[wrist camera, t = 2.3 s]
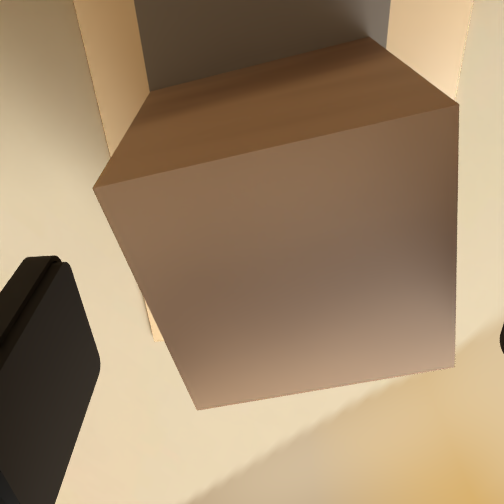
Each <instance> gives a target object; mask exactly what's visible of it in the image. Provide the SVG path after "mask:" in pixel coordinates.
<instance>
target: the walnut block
mask: <svg viewBox="0 0 504 504" xmlns="http://www.w3.org/2000/svg"><path fill="white" fill-rule="evenodd" d="M458 139H459V104H458V103H457V102H455V101H454V100H453V99H451V98H450V97H449V96H447V95H446V94H445V93H443V92H442V91H441V90H439V89H438V88H437V87H435V86H434V85H433V84H431V83H430V82H429V81H428V80H426V79H425V78H424V77H422V76H421V75H420V74H418V73H417V72H416V71H414V70H413V69H412V68H410V67H409V66H408V65H406V64H405V63H404V62H402V61H401V60H400V59H398V58H397V57H396V56H394V55H393V54H392V53H390V52H389V51H388V50H386V49H385V48H384V47H383V46H381V45H380V44H379V43H377V42H376V41H375V40H373V39H372V38H371V37H366V38H362V39H358V40H354V41H350V42H346V43H342V44H338V45H334V46H330V47H326V48H322V49H318V50H314V51H310V52H306V53H302V54H298V55H294V56H290V57H286V58H282V59H278V60H274V61H270V62H266V63H262V64H258V65H254V66H250V67H246V68H242V69H238V70H234V71H230V72H226V73H222V74H218V75H214V76H210V77H206V78H202V79H198V80H194V81H190V82H186V83H182V84H178V85H174V86H170V87H166V88H162V89H158V90H154V91H150V93H149V95H148V96H147V98H146V100H145V101H144V103H143V105H142V106H141V108H140V110H139V112H138V113H137V115H136V117H135V118H134V120H133V122H132V123H131V125H130V127H129V128H128V130H127V132H126V133H125V135H124V137H123V138H122V140H121V142H120V143H119V145H118V147H117V148H116V150H115V152H114V153H113V155H112V157H111V158H110V160H109V162H108V163H107V165H106V167H105V168H104V170H103V172H102V173H101V175H100V177H99V178H98V180H97V182H96V183H95V185H94V187H93V191H94V193H95V195H96V197H97V199H98V201H99V203H100V205H101V207H102V210H103V212H104V214H105V216H106V218H107V220H108V222H109V224H110V227H111V229H112V231H113V233H114V235H115V237H116V239H117V241H118V244H119V246H120V248H121V250H122V252H123V254H124V256H125V258H126V261H127V263H128V265H129V267H130V269H131V271H132V273H133V275H134V278H135V280H136V282H137V284H138V286H139V288H140V290H141V292H142V295H143V297H144V299H145V301H146V303H147V305H148V307H149V309H150V311H151V314H152V316H153V318H154V320H155V322H156V324H157V326H158V328H159V331H160V333H161V335H162V337H163V339H164V341H165V343H166V345H167V348H168V350H169V352H170V354H171V356H172V358H173V360H174V362H175V365H176V367H177V369H178V371H179V373H180V375H181V377H182V379H183V382H184V384H185V386H186V388H187V390H188V392H189V394H190V396H191V399H192V401H193V403H194V405H195V407H196V409H197V410H203V409H209V408H215V407H221V406H227V405H233V404H239V403H244V402H250V401H256V400H262V399H268V398H274V397H280V396H286V395H292V394H298V393H304V392H310V391H316V390H322V389H328V388H334V387H340V386H346V385H351V384H357V383H363V382H369V381H375V380H381V379H387V378H393V377H399V376H405V375H411V374H417V373H423V372H429V371H434V370H441V369H447V368H453V367H455V325H456V263H457V201H458Z"/></svg>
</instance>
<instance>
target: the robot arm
mask: <svg viewBox="0 0 504 504" xmlns="http://www.w3.org/2000/svg"><path fill="white" fill-rule="evenodd" d="M500 345H501V349H502V351H503V353H504V324H503V328H502V331H501V334H500ZM99 372H100V357H99V353H98V350H97V347H96V344H95V341H94V338H93V335H92V332H91V329H90V326H89V322H88V319H87V316H86V313H85V310H84V307H83V304H82V301H81V298H80V294H79V291H78V288H77V285H76V282H75V279H74V276H73V273H72V270H71V267H70V265H69V264H68V263H67V262H61V260H60V258H59V257H57V256H39V257H27V258H25V259H24V260H23V262H22V263H21V264H20V266H19V267H18V269H17V270H16V271H15V273H14V274H13V276H12V277H11V278H10V280H9V281H8V282H7V284H6V285H5V287H4V288H3V289H2V291H1V292H0V504H55V502H56V499H57V496H58V493H59V490H60V487H61V484H62V481H63V478H64V475H65V472H66V469H67V466H68V464H69V461H70V458H71V455H72V452H73V449H74V446H75V443H76V440H77V437H78V434H79V431H80V428H81V426H82V423H83V420H84V417H85V414H86V411H87V408H88V405H89V402H90V399H91V396H92V393H93V390H94V387H95V385H96V382H97V379H98V376H99Z"/></svg>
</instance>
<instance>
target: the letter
mask: <svg viewBox="0 0 504 504" xmlns="http://www.w3.org/2000/svg"><path fill="white" fill-rule="evenodd" d="M73 2H74V6H75V11H76V15H77V19H78V23H79V27H80V32H81V36H82V40H83V44H84V48H85V53H86V57H87V61H88V65H89V69H90V74H91V78H92V82H93V86H94V90H95V95H96V99H97V103H98V107H99V111H100V115H101V120H102V124H103V128H104V132H105V136H106V141H107V145H108V149H109V153H110V157H112V155H113V153H114V152H115V150H116V148H117V147H118V145H119V143H120V142H121V140H122V138H123V137H124V135H125V133H126V132H127V130H128V128H129V127H130V125H131V123H132V122H133V120H134V118H135V117H136V115H137V113H138V112H139V110H140V108H141V106H142V105H143V103H144V101H145V100H146V98H147V96H148V95H149V93H150V91H154V90H158V89H162V88H166V87H170V86H174V85H178V84H182V83H186V82H190V81H194V80H198V79H202V78H206V77H210V76H214V75H218V74H222V73H226V72H230V71H234V70H238V69H242V68H246V67H250V66H254V65H258V64H262V63H266V62H270V61H274V60H278V59H282V58H286V57H290V56H294V55H298V54H302V53H306V52H310V51H314V50H318V49H322V48H326V47H330V46H334V45H338V44H342V43H346V42H350V41H354V40H358V39H362V38H366V37H371V38H372V39H373V40H375V41H376V42H377V43H379V44H380V45H381V46H383V47H384V48H385V49H386V50H388V51H389V52H390V53H392V54H393V55H394V56H396V57H397V58H398V59H400V60H401V61H402V62H404V63H405V64H406V65H408V66H409V67H410V68H412V69H413V70H414V71H416V72H417V73H418V74H420V75H421V76H422V77H424V78H425V79H426V80H428V81H429V82H430V83H431V84H433V85H434V86H435V87H437V88H438V89H439V90H441V91H442V92H443V93H445V94H446V95H447V96H449V97H450V98H451V99H453V100H454V101H455V98H456V93H457V88H458V82H459V77H460V72H461V66H462V61H463V55H464V50H465V45H466V39H467V34H468V29H469V23H470V18H471V13H472V7H473V2H474V0H73ZM144 300H145V299H144ZM145 304H146V308H147V313H148V317H149V321H150V325H151V329H152V333H153V338H154V342H156V341H164V339H163V337H162V335H161V333H160V331H159V328H158V326H157V324H156V322H155V320H154V318H153V316H152V314H151V311H150V309H149V307H148V305H147V303H146V301H145Z"/></svg>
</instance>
